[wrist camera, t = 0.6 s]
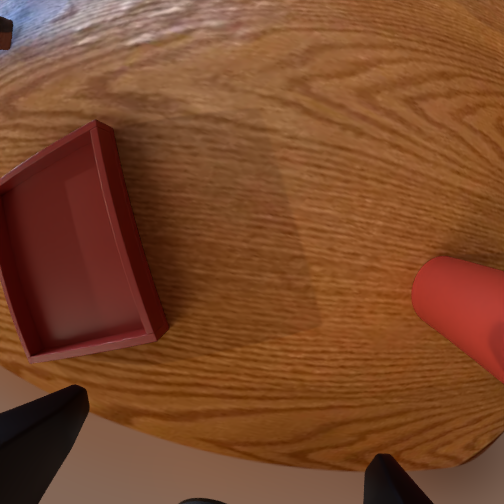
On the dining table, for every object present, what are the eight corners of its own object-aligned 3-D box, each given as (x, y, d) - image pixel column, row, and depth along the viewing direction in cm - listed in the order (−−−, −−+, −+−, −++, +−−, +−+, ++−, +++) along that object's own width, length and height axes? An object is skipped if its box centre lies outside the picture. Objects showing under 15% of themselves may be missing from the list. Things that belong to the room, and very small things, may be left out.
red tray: (170, 328, 22) (157, 341, 19) (46, 353, 23) (29, 363, 21) (113, 127, 21) (95, 118, 18) (2, 192, 22) (-18, 191, 20)
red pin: (460, 324, 20) (572, 401, 7) (405, 322, 21) (510, 420, 8) (472, 259, 20) (604, 295, 7) (417, 252, 20) (551, 293, 7)
